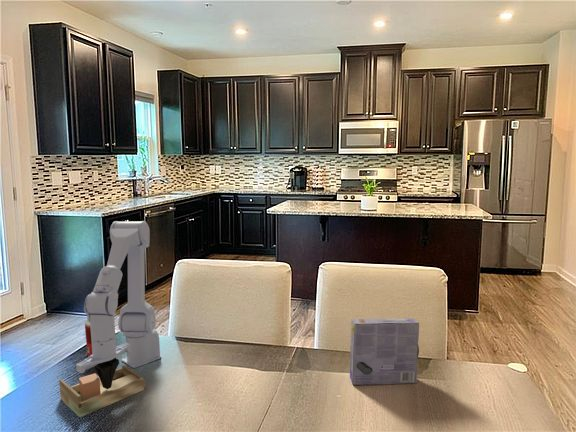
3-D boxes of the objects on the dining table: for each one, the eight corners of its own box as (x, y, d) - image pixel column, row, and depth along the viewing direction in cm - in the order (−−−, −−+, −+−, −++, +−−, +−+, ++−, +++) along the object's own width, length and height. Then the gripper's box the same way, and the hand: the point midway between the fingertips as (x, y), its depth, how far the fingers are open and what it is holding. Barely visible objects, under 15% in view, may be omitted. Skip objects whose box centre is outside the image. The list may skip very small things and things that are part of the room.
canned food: (104, 359, 137) (101, 326, 135) (81, 357, 138) (79, 324, 137) (118, 349, 144) (116, 317, 143) (96, 347, 146) (94, 315, 144)
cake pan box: (414, 374, 126) (416, 316, 123) (421, 383, 121) (423, 322, 118) (348, 377, 125) (349, 318, 122) (352, 386, 120) (353, 325, 117)
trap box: (124, 374, 127) (123, 356, 127) (145, 389, 119) (144, 370, 119) (60, 399, 115) (59, 379, 114) (79, 417, 107) (77, 396, 106)
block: (96, 387, 116) (95, 373, 115) (100, 393, 113) (99, 379, 112) (80, 392, 113) (78, 378, 113) (84, 399, 110) (82, 384, 110)
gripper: (118, 325, 121) (121, 371, 122) (67, 344, 108) (71, 395, 110) (134, 330, 117) (137, 378, 119) (84, 351, 105) (88, 403, 107)
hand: (107, 387), depth 114 cm, fingers closed
